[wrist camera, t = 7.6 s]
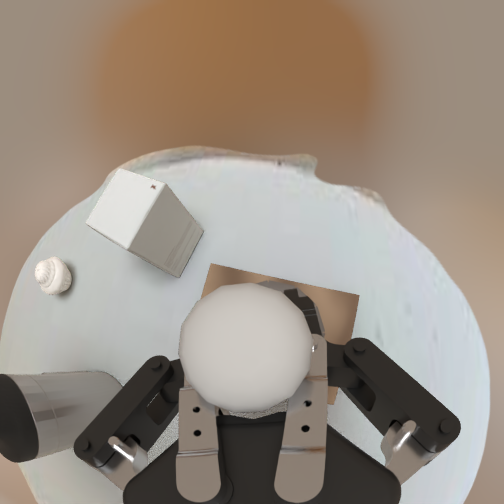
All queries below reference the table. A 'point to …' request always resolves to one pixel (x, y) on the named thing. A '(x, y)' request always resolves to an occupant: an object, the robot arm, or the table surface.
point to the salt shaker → (245, 347)
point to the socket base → (320, 296)
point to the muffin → (53, 276)
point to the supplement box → (146, 221)
